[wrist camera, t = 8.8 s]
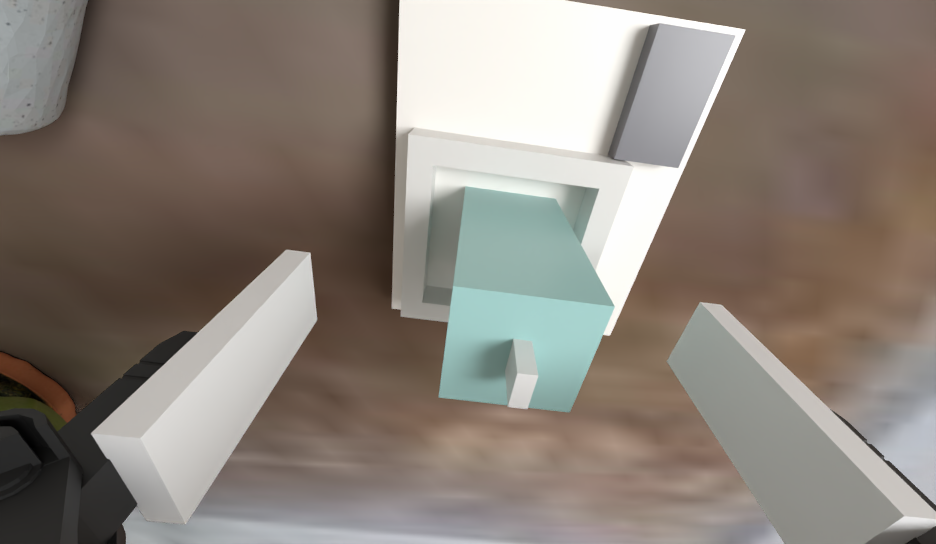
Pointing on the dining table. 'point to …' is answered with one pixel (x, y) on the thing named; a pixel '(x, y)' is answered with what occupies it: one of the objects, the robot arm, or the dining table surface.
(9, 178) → the dining table surface
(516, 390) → the block
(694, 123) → the outlet plate
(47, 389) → the potted flower
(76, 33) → the ceramic mug
